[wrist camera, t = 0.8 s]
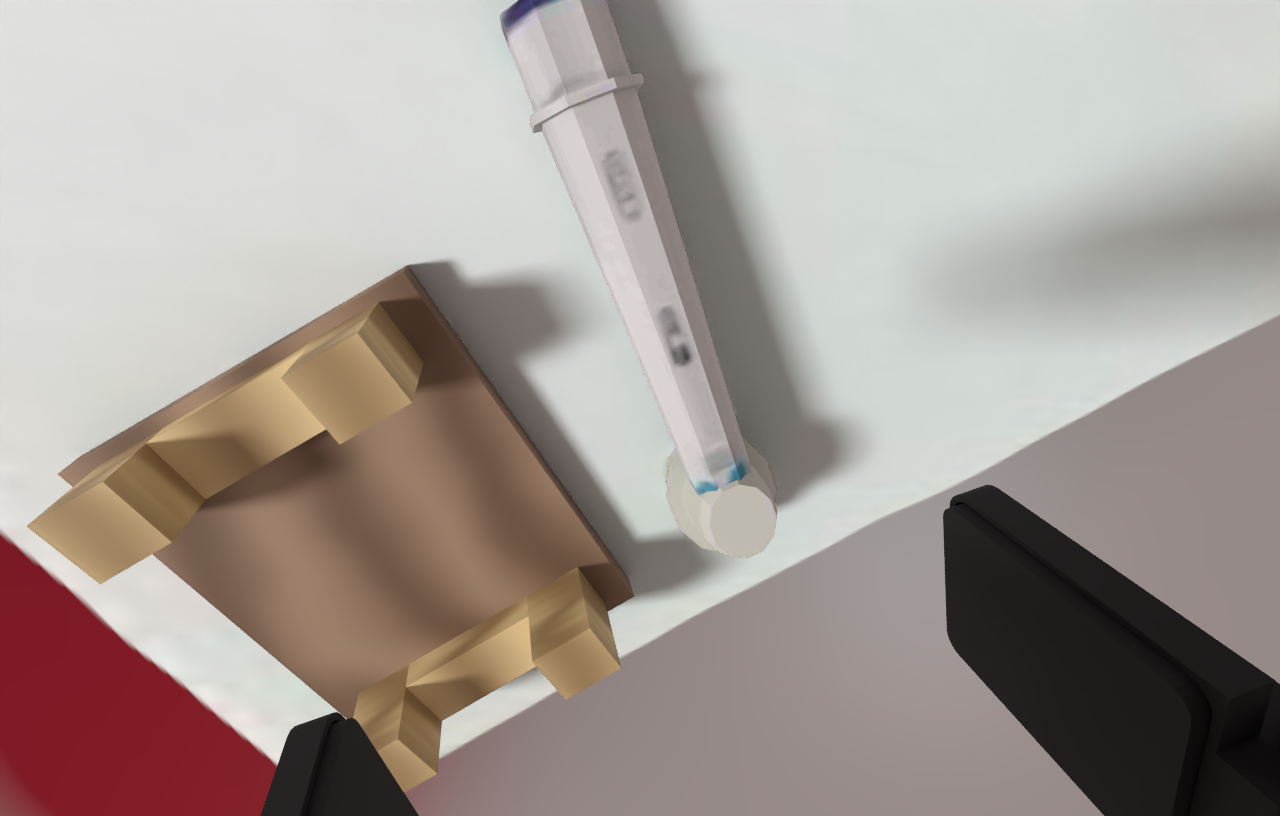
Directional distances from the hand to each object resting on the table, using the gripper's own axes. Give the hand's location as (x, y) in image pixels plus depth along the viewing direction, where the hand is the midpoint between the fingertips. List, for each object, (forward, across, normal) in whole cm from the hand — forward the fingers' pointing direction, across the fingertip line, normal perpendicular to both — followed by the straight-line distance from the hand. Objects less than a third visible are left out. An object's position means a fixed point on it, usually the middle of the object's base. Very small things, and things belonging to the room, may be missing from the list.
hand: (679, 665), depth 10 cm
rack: (+21, +11, +8) cm, 25 cm away
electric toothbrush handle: (+22, -4, +1) cm, 22 cm away
